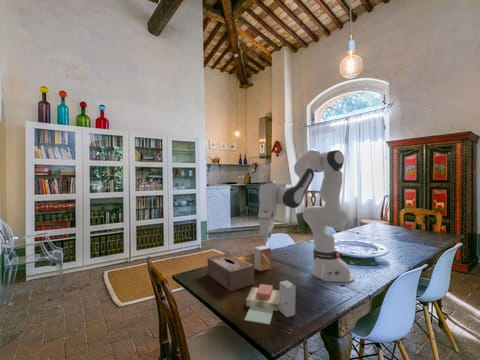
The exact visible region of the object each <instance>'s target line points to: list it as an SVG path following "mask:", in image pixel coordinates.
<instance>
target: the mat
mask: <svg viewBox="0 0 480 360" xmlns="http://www.w3.org/2000/svg"><path fill="white" fill-rule="evenodd" d="M273 313H274V310H273V309H267V308H260V307H253V306H250V307H249V309H248V311H247V313H246V316H245V317H244V321H246V322H251V323H256V324H257V323H258V324H264V325H268V326H269V325H271V322H272V317H273Z"/></svg>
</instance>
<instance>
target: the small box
mask: <svg viewBox="0 0 480 360" xmlns="http://www.w3.org/2000/svg"><path fill="white" fill-rule="evenodd" d="M271 250H272V249H271V247H269V246H267V245H261V246H256V247H254V270H257V271H259V272H263V271H267V270H271V269H272V267H271V264H272V263H271V254H272V253H271V252H272V251H271Z"/></svg>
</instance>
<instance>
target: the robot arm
mask: <svg viewBox="0 0 480 360" xmlns="http://www.w3.org/2000/svg"><path fill="white" fill-rule="evenodd" d="M344 162H345V157H344V154H343V152H342V151H341V150H339V149H331V150H328V151H324V152H320V151H319V150H317V149H315V148H312V149H308V150H306V152H304V153H303V154H302V155H301V156H300V157H299V158H298V159H297V161H296V162H295V164H294V165H293V171H294V173H295V175H296V176H297V177H298V178H299V179H298V181H297V182H296V184H295V185H294V186H291V187H283V186H280V185H279V184H277V183H276V181H275V180H266V181H263V182H261V183H260V184H259V185H260V186H259V192H258V194H259V195H258V197H259V199H258V200H259V205H258V214H257V218H259V219H258V220H259V221H258V222H259V233H260V234H261V235H262V236H263V237H262V238H263V242H264V243H268V241H269V239H271V237H272V230H273V229H274V227H275V217H277V206H282V207H287V208H288V207H289V208H291V209H296V208H299V206H300V205H301V204H302V203H303V200H304V197H305V194H306V192H307V190H308V189H309V187H310V185H311V184H312V182H313V179H314V177H315V173H323V175H324V176H323V179H322V181H321V185H320V189H319V190H320V191H319V192H318V194H319V197H320V200H322V201H323V202H324V203H325V204H324V206H322V205H321V206H320V205H311V206H306V207H304V209H303V211H302V218H303V221H305V222H306V223H307V225H308V226H309V228H310V229H311V233H312V235H313V236H312V237H313V245H314V246H313V252H312V255H313V264H312V269H311V275H313V277H315V278H318V279H320V280H322V281H324V282H340V283H341V282H342V283H345V282H347V283H353V282H354V281H355V276H354V274H353V272H351V271H350V267H349V265H348V264H347V263H346V262H345V261H344V260H343V259H341V258H340V257H341V254H340V253H339V252H338V250H335V249H336V247H335V244H336V243H335V236H334V235H333V234H332V233H331V232H330V231H329V230H328V229H327V227H328V228H343V227H345V226H346V225H347V222H348V219H349V217H348V214H347V212H346V210H344V209H343V208H342V205H341V203H340V196H341V190H342V186H343V171H342V168H343V167H344V166H343V165H344Z"/></svg>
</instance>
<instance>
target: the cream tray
mask: <svg viewBox="0 0 480 360" xmlns="http://www.w3.org/2000/svg"><path fill="white" fill-rule="evenodd" d="M258 288H259V287H255V286H254V287H253V286H252V287H251V288H250V291H249V293H248V295H247V297H246V299H245V307H249V308H250V306H253V307H260V308H267V309H273V312H274V311H276V312H279V311H280V310H279V289H277V290H276V289H273V291H272V294H271V297H270V299H265V298H257V297H256V293H257V290H258Z"/></svg>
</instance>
